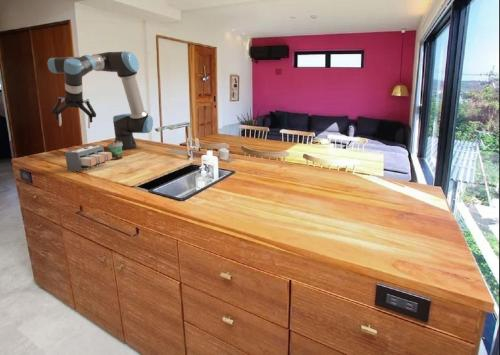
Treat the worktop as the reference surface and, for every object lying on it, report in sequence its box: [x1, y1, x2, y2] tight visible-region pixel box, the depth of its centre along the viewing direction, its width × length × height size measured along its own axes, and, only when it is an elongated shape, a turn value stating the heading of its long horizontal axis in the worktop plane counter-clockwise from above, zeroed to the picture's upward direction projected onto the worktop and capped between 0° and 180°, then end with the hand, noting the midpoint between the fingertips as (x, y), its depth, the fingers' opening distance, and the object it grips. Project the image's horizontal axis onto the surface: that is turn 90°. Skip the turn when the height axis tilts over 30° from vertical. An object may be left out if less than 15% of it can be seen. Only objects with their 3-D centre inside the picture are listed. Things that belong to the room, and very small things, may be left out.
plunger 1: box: [80, 157, 96, 167], centre depth 174 cm, size 8×4×4 cm, turn 74°
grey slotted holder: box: [64, 144, 106, 172], centre depth 182 cm, size 8×19×10 cm, turn 164°
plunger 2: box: [98, 151, 112, 161], centre depth 186 cm, size 8×4×4 cm, turn 74°
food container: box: [107, 141, 123, 161], centre depth 200 cm, size 12×6×10 cm, turn 179°
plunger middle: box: [89, 154, 104, 164], centre depth 180 cm, size 8×4×4 cm, turn 74°
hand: (75, 125), depth 177 cm, fingers open, 13 cm apart
